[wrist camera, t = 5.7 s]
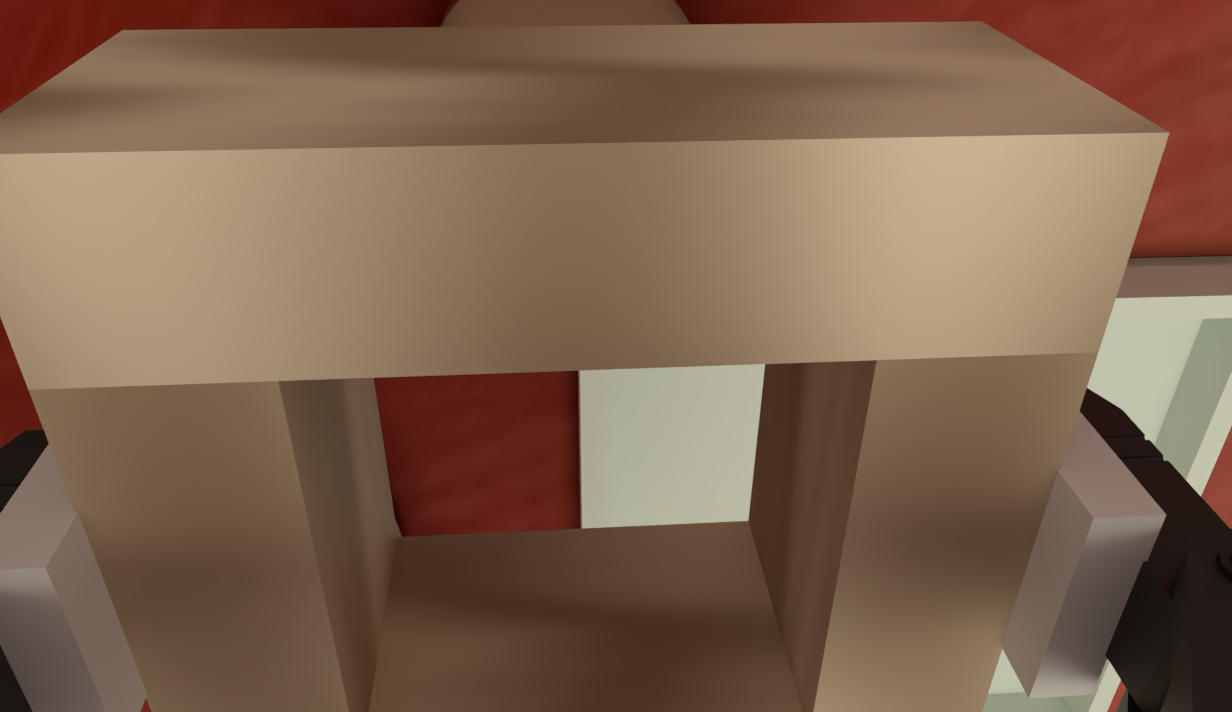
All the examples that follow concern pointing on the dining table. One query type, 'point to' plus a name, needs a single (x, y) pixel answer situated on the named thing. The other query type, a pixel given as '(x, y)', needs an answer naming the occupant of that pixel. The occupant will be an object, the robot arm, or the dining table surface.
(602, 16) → the cylinder
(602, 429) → the sage tray
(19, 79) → the dining table surface
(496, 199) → the wooden square frame
